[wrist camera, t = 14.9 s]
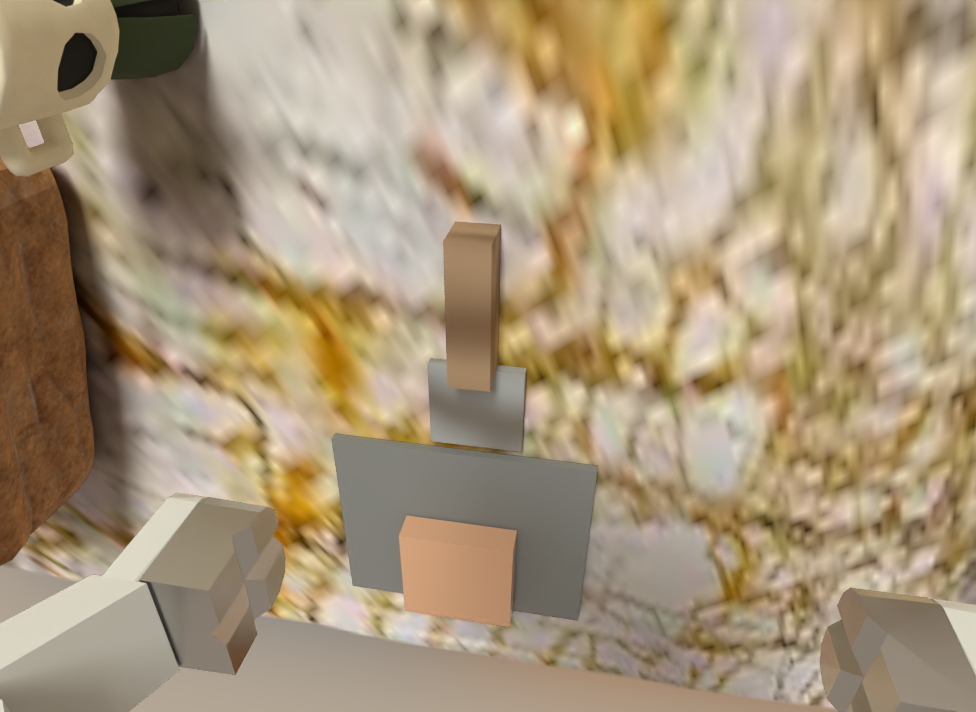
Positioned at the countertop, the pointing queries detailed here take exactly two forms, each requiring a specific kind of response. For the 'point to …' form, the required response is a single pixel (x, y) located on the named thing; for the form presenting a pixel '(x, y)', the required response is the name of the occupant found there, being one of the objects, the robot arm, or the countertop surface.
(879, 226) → the countertop surface
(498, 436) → the turner
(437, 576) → the block
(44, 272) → the bread
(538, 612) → the gray rectangular plate
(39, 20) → the character mug
